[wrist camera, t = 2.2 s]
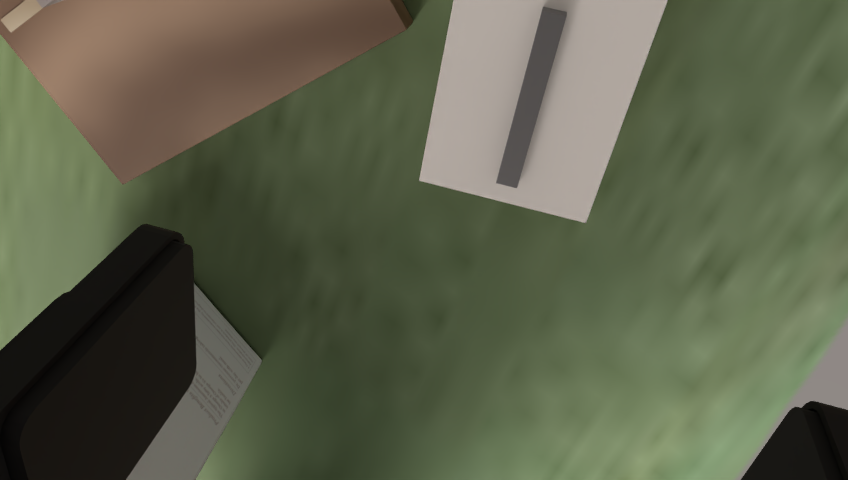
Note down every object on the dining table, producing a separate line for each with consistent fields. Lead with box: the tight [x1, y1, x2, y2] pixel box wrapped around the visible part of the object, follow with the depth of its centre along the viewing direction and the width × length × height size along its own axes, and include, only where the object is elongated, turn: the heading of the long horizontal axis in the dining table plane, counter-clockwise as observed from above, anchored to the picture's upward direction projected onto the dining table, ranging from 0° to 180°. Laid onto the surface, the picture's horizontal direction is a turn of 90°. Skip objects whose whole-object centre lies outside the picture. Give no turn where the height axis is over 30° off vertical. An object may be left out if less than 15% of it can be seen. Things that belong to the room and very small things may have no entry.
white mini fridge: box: [419, 0, 668, 223], centre depth 23 cm, size 6×7×6 cm
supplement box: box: [126, 283, 262, 480], centre depth 33 cm, size 7×7×13 cm
